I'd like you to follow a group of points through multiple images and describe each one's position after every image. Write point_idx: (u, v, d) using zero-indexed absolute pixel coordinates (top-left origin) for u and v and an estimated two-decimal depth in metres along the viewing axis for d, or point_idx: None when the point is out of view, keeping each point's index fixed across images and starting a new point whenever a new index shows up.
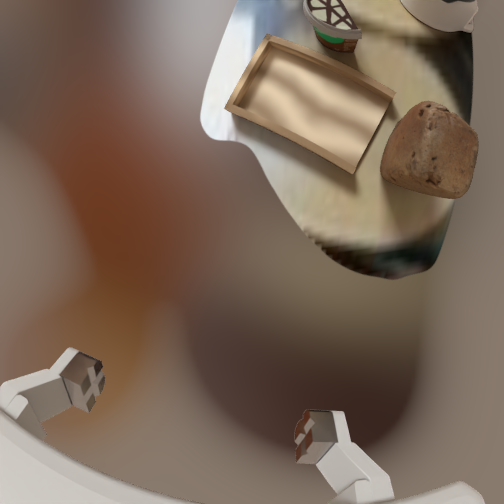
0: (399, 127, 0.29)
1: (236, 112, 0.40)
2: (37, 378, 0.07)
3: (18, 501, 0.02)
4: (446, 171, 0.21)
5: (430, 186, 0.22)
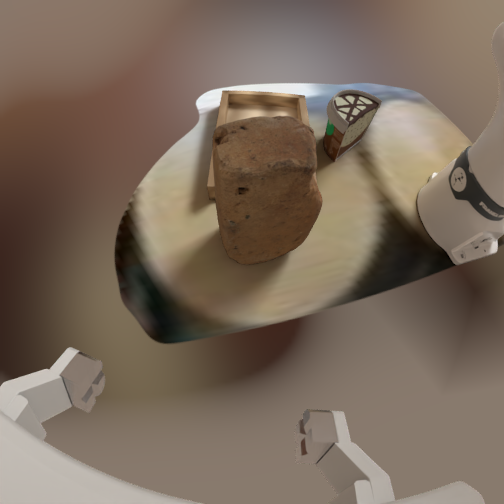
0: None
1: (222, 97, 0.45)
2: (37, 378, 0.07)
3: (18, 501, 0.02)
4: (238, 142, 0.20)
5: (213, 148, 0.21)
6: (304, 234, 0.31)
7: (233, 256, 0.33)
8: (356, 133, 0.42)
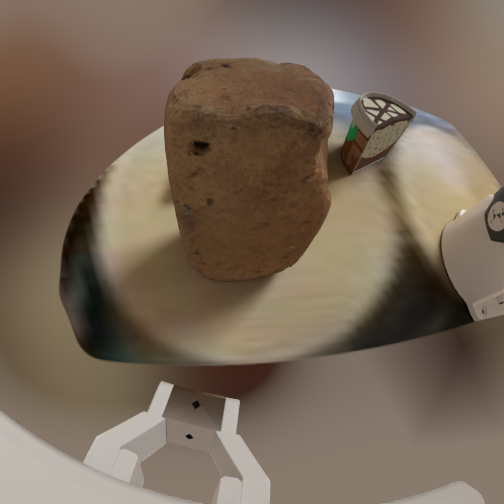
0: None
1: None
2: (137, 425, 0.07)
3: (18, 501, 0.02)
4: (211, 79, 0.11)
5: None
6: (297, 251, 0.22)
7: (195, 265, 0.24)
8: (382, 145, 0.34)
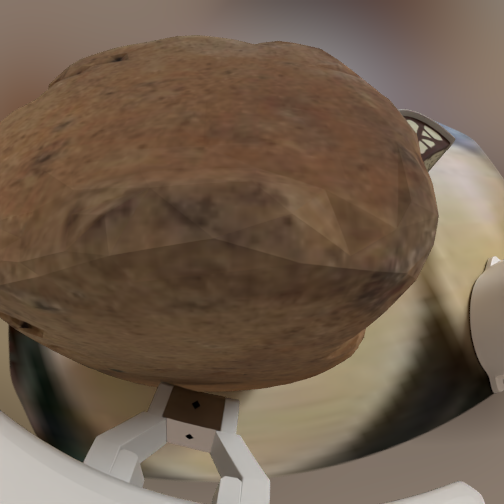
0: None
1: None
2: (137, 425, 0.07)
3: (18, 501, 0.02)
4: (57, 98, 0.03)
5: None
6: None
7: None
8: None
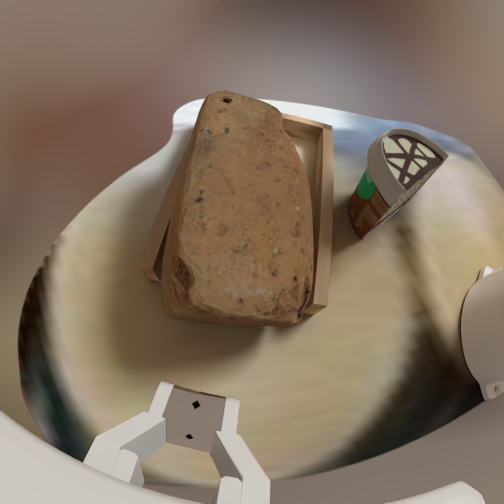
0: None
1: None
2: (137, 425, 0.07)
3: (18, 501, 0.02)
4: None
5: None
6: (305, 224, 0.20)
7: (188, 237, 0.16)
8: (402, 200, 0.26)
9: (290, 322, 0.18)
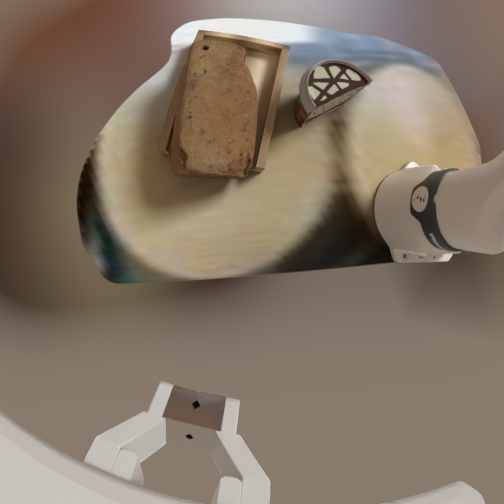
0: None
1: (196, 39, 0.34)
2: (137, 425, 0.07)
3: (18, 501, 0.02)
4: None
5: None
6: (250, 124, 0.33)
7: (185, 137, 0.30)
8: (332, 105, 0.37)
9: (238, 176, 0.35)
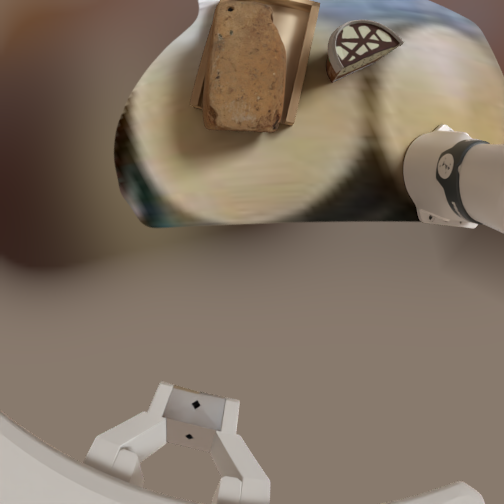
0: None
1: None
2: (137, 425, 0.07)
3: (18, 501, 0.02)
4: None
5: None
6: (278, 82, 0.31)
7: (213, 96, 0.30)
8: (363, 63, 0.31)
9: (267, 131, 0.35)
